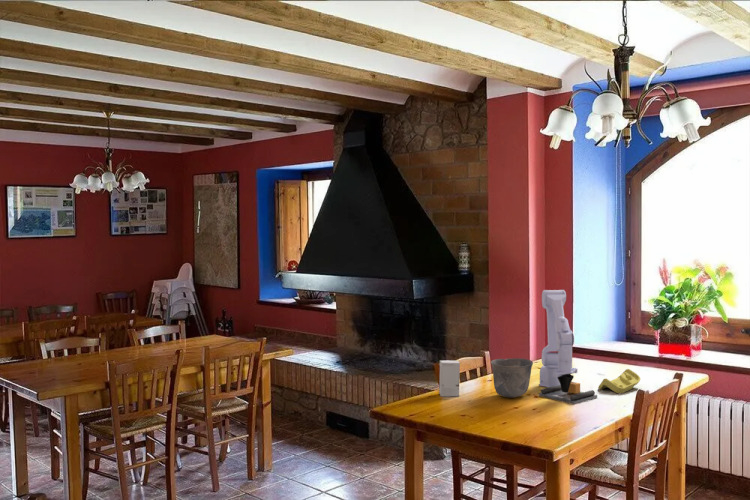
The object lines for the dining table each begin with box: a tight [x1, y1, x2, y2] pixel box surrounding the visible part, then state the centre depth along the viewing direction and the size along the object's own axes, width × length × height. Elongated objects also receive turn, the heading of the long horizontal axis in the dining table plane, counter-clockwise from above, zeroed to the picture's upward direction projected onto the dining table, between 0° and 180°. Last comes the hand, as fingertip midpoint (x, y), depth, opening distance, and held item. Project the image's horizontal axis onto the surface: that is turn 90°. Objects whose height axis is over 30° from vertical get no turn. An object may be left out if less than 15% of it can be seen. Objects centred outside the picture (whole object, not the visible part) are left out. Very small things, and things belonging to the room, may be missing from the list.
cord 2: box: [570, 389, 596, 400], centre depth 290 cm, size 2×15×2 cm, turn 128°
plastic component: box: [597, 368, 641, 394], centre depth 310 cm, size 20×7×10 cm
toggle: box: [568, 380, 581, 394], centre depth 298 cm, size 4×3×4 cm
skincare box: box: [438, 359, 461, 398], centre depth 301 cm, size 8×6×15 cm
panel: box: [538, 389, 598, 405], centre depth 296 cm, size 18×16×1 cm
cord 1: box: [540, 385, 562, 394], centre depth 301 cm, size 2×15×2 cm, turn 128°
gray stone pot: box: [490, 357, 534, 399], centre depth 298 cm, size 18×18×15 cm
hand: (565, 392), depth 295 cm, fingers closed
